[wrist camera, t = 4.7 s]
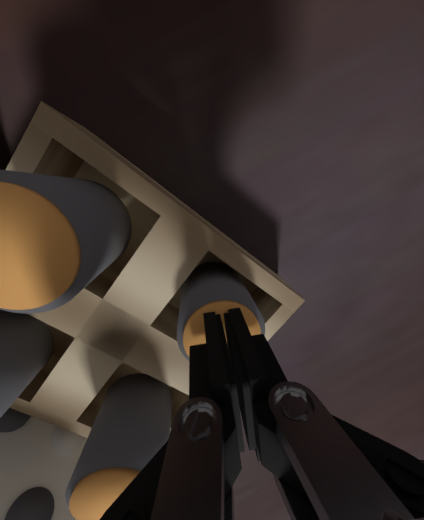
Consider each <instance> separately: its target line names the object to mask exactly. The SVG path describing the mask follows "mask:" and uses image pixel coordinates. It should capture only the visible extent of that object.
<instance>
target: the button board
mask: <svg viewBox="0 0 424 520" xmlns="http://www.w3.org/2000/svg"><path fill="white" fill-rule="evenodd" d="M6 170H9V171H18V172H26V173H35V174H44V175H52V176H61V177H69V178H78V179H86V180H91V181H95V182H98V183H100V184H102V185H104V186H106V187H107V188H109V189H110V190H112V191H113V192H114V193H115V194H116V195H117V196H118V197H119V198H120V199H121V200H122V202H123V203H124V205H125V206H126V208H127V210H128V212H129V215H130V219H131V224H132V232H131V238H130V242H129V244H128V246H127V248H126V249H125V251H124V252H123V253H122V254H121V255H120V256H119V257H118V258H117V259H116V260H115V261H114V262H113V263H111V264H110V265H109V266H108V267H107V268H106V269H105V270H104V271H103V272H101V273H100V274H99V275H98V276H97V277H96V278H95V279H94V280H93V281H92V282H90V283H89V284H88V285H87V286H86V287H85V288H84V289H83V290H82V291H81V292H79V293H78V294H77V295H76V296H75V297H74V298H73V299H72V300H70V301H69V302H67V303H66V304H64V305H62V306H60V307H58V308H56V309H53V310H50V311H46V312H41V313H32V314H29V315H31V316H33V317H34V318H36V319H38V320H40V321H42V322H44V323H45V324H46V325H47V326H48V328H49V329H50V331H51V333H52V335H53V338H54V343H55V348H54V352H53V355H52V357H51V358H50V360H49V361H48V362H47V363H46V364H45V366H44V367H43V368H42V369H41V370H40V372H39V373H38V374H37V375H36V376H35V377H34V379H33V380H32V381H31V382H30V383H29V385H28V386H27V387H26V388H25V389H24V391H23V392H22V393H21V394H20V395H19V396H18V398H17V399H16V400H15V401H14V402H13V404H12V405H11V406H10V407H9V408H12V409H14V410H17V411H20V412H22V413H25V414H27V415H30V416H32V417H35V418H37V419H40V420H43V421H45V422H48V423H50V424H53V425H55V426H58V427H60V428H63V429H66V430H68V431H71V432H73V433H76V434H78V435H81V436H83V437H86V438H88V436H89V433H90V431H91V428H92V426H93V424H94V421H95V419H96V417H97V414H98V412H99V409H100V407H101V405H102V402H103V400H104V397H105V395H106V393H107V391H108V389H109V387H110V386H111V385H112V384H113V383H114V382H115V381H116V380H118V379H119V378H121V377H124V376H126V375H130V374H147V375H149V376H151V377H153V378H155V379H157V380H159V381H161V382H163V383H165V384H167V385H168V386H169V388H170V389H171V392H172V395H173V403H172V415H171V426H172V422H173V419H174V416H175V413H176V412H177V410H178V409H179V408H180V406H181V405H183V404H184V403H185V402H186V401H188V400H189V361H188V360H187V359H186V358H185V357H184V355H183V354H182V352H181V351H180V349H179V346H178V343H177V325H178V315H179V305H180V295H181V287H182V284H183V283H184V281H185V280H186V279H187V278H188V276H189V275H190V274H191V272H192V271H193V270H194V269H195V267H196V266H198V265H201V264H203V263H208V262H219V263H223V264H226V265H228V266H230V267H231V268H233V269H234V270H235V271H236V272H237V273H238V275H239V276H240V278H241V280H242V281H243V283H244V285H245V286H246V288H247V290H248V292H249V293H250V295H251V297H252V299H253V300H254V302H255V304H256V306H257V307H258V309H259V311H260V312H261V314H262V316H263V319H264V322H265V338H266V340H267V341H268V340H269V339H270V338H271V337H272V336H273V335H274V334H275V333H276V331H277V330H278V329H279V328H280V327H281V326H282V325H283V324H284V323H285V322H286V321H287V320H288V318H289V317H290V316H291V315H292V314H293V313H294V312H295V311H296V310H297V309H298V308H299V307H300V305H301V304H302V303H303V302H304V301H305V300H304V299H303V298H302V297H301V296H300V295H299V294H298V293H297V292H295V291H294V290H293V289H292V288H291V287H290V286H289V285H288V284H287V283H286V282H285V281H284V280H283V279H282V278H281V277H280V276H279V275H278V274H276V273H275V272H274V271H272V270H271V269H270V268H268V267H267V266H266V265H264V264H263V263H262V262H261V261H259V260H258V259H257V258H255V257H254V256H253V255H251V254H250V253H249V252H247V251H246V250H245V249H244V248H242V247H241V246H240V245H238V244H237V243H236V242H234V241H233V240H232V239H230V238H229V237H228V236H227V235H225V234H224V233H223V232H221V231H220V230H219V229H217V228H216V227H215V226H213V225H212V224H211V223H210V222H208V221H207V220H206V219H204V218H203V217H202V216H200V215H199V214H198V213H196V212H195V211H194V210H193V209H191V208H190V207H189V206H187V205H186V204H185V203H183V202H182V201H181V200H179V199H178V198H177V197H176V196H174V195H173V194H172V193H170V192H169V191H168V190H166V189H165V188H164V187H162V186H161V185H160V184H159V183H157V182H156V181H155V180H153V179H152V178H151V177H149V176H148V175H147V174H145V173H144V172H143V171H142V170H140V169H139V168H138V167H136V166H135V165H134V164H132V163H131V162H130V161H128V160H127V159H126V158H125V157H123V156H122V155H121V154H119V153H118V152H117V151H115V150H114V149H113V148H111V147H110V146H109V145H108V144H106V143H105V142H104V141H102V140H101V139H100V138H98V137H97V136H96V135H94V134H93V133H92V132H91V131H89V130H88V129H86V128H85V127H83V126H82V125H80V124H78V123H77V122H75V121H73V120H72V119H70V118H68V117H67V116H65V115H63V114H62V113H60V112H58V111H57V110H55V109H53V108H52V107H50V106H49V105H47V104H45V103H44V102H42V101H41V103H40V105H39V107H38V108H37V110H36V112H35V114H34V116H33V118H32V120H31V122H30V124H29V126H28V128H27V130H26V131H25V133H24V135H23V137H22V139H21V141H20V143H19V145H18V147H17V149H16V151H15V153H14V154H13V156H12V158H11V160H10V162H9V164H8V166H7V168H6ZM170 431H171V427H170Z"/></svg>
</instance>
